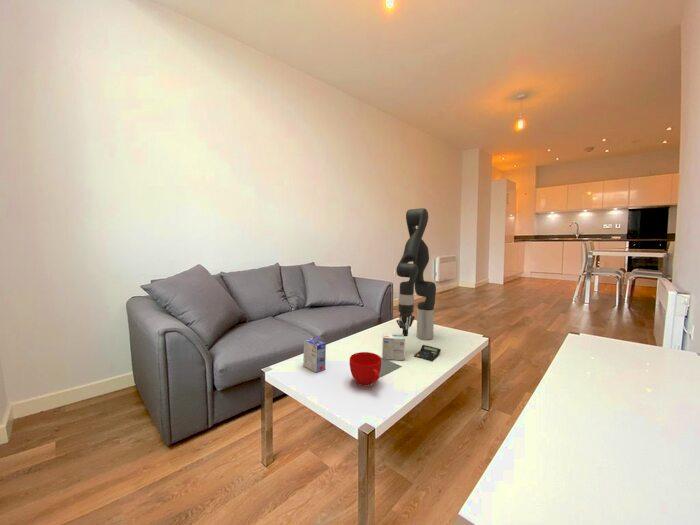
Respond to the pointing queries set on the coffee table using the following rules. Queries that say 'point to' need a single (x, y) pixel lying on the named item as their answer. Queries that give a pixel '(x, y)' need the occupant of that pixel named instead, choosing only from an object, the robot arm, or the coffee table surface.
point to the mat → (387, 367)
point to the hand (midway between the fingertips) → (405, 335)
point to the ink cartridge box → (314, 354)
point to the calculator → (428, 353)
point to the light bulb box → (393, 346)
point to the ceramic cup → (365, 367)
